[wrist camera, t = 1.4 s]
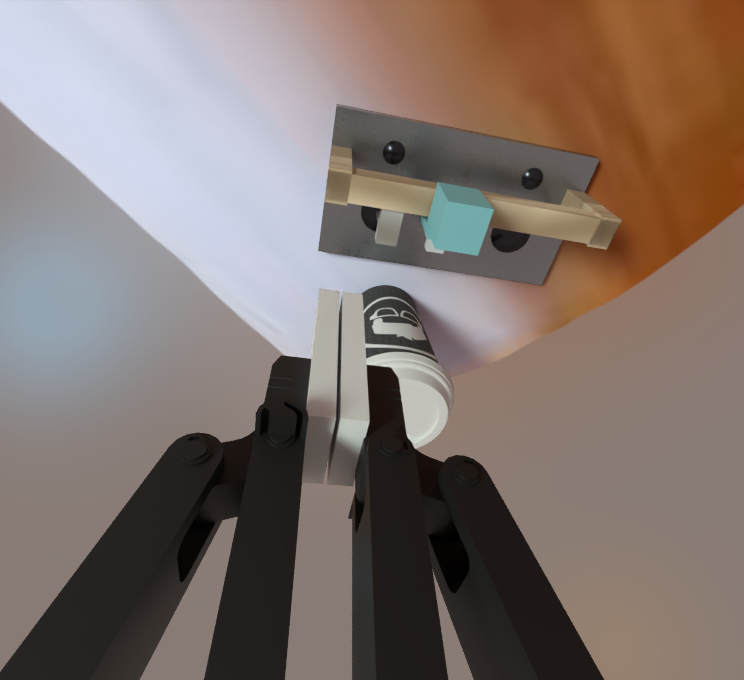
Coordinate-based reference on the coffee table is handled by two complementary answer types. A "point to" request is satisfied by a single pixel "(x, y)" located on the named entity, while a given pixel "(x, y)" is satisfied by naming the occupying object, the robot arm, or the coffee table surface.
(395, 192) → the wooden rail
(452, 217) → the slider block
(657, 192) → the coffee table surface
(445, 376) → the coffee cup
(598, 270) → the coffee table surface
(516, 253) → the bolt plate
